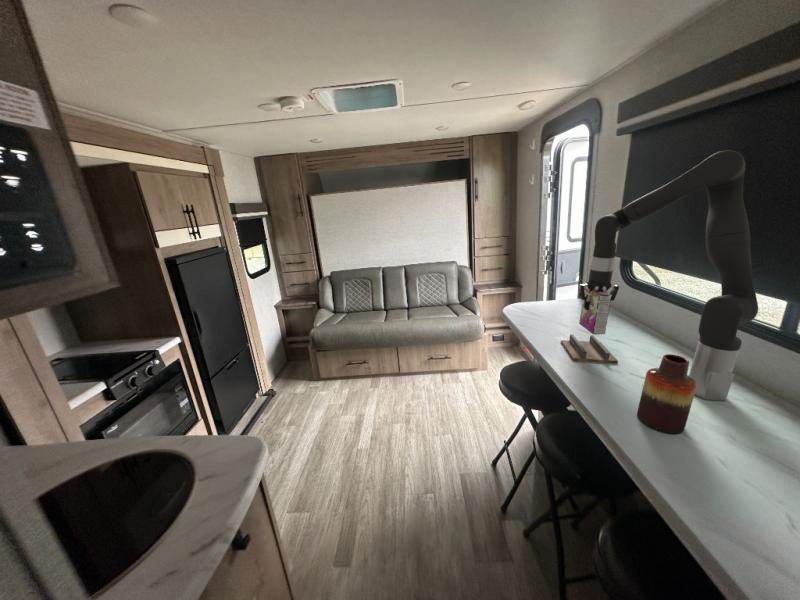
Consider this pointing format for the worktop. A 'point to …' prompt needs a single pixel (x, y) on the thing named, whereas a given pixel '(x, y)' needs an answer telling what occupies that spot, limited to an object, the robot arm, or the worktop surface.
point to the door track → (588, 350)
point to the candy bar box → (596, 312)
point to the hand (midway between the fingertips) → (594, 309)
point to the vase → (667, 396)
